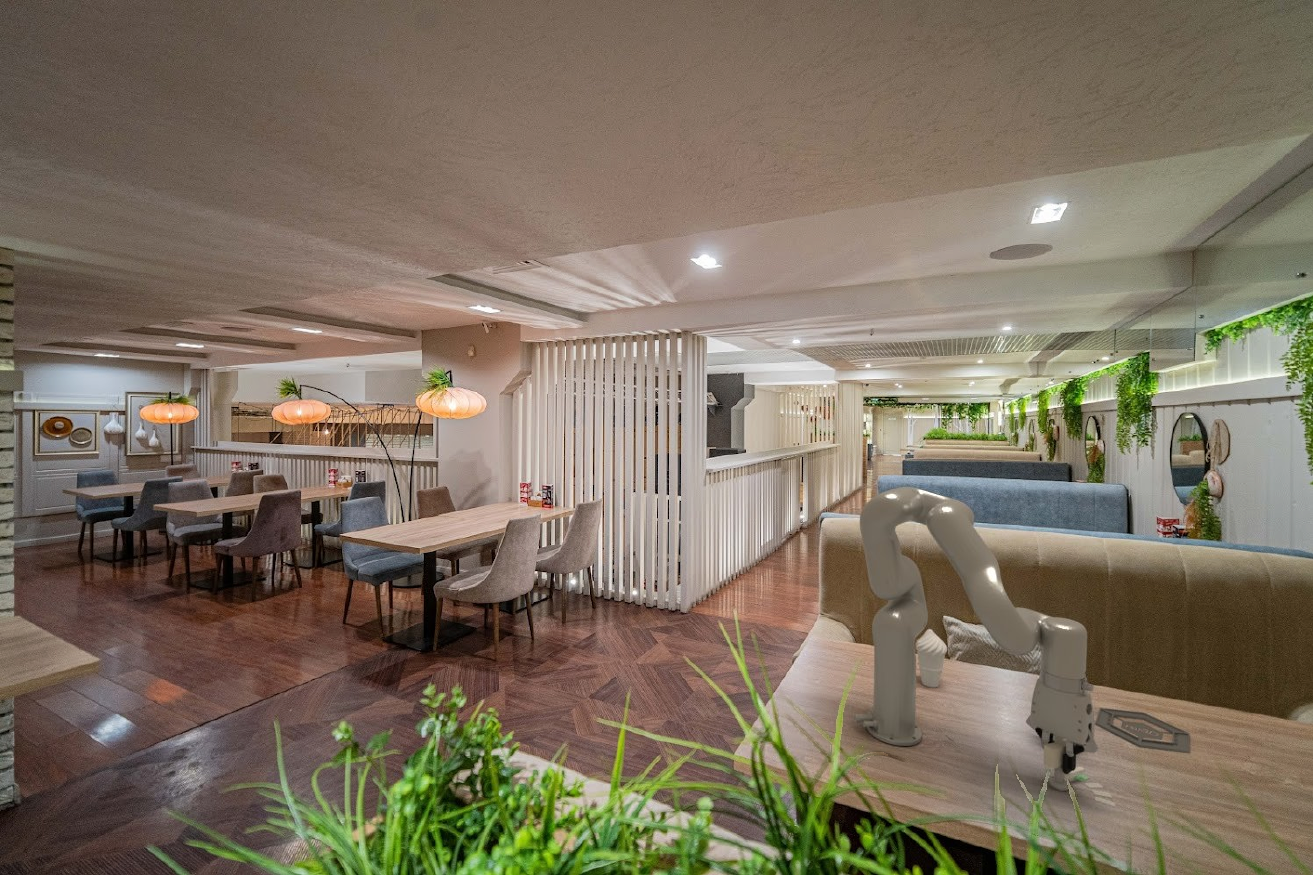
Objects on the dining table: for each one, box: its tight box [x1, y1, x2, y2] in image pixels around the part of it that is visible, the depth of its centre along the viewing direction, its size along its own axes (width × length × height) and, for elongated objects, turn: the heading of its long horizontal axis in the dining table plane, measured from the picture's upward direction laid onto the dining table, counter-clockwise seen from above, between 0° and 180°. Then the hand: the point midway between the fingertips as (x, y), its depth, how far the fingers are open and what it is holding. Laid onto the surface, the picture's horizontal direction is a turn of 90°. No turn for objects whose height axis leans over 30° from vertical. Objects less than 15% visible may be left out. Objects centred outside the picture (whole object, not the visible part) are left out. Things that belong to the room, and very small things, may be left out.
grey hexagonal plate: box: [1094, 707, 1191, 754], centre depth 140 cm, size 17×20×1 cm
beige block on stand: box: [1043, 739, 1086, 792], centre depth 117 cm, size 11×3×9 cm, turn 111°
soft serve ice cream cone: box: [914, 628, 948, 689], centre depth 163 cm, size 8×8×16 cm
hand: (1059, 766), depth 116 cm, fingers closed on beige block on stand, 2 cm apart
